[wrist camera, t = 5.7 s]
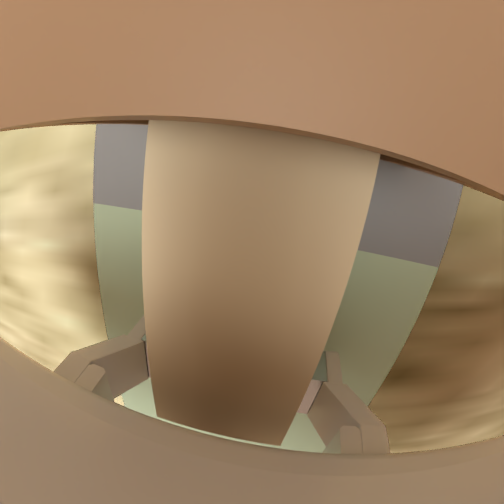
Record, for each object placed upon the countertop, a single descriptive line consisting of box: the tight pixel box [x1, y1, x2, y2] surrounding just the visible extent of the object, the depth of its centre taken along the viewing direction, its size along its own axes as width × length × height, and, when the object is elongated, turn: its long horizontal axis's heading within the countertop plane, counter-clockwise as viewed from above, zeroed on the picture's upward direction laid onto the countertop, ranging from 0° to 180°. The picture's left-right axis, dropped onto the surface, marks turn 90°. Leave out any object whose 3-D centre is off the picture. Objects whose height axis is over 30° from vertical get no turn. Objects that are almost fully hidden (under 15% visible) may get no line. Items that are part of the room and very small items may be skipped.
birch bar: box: [142, 120, 380, 446], centre depth 6 cm, size 4×16×4 cm, turn 172°
